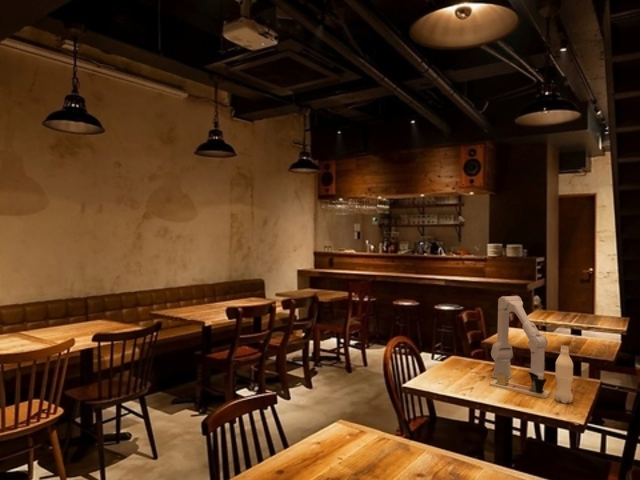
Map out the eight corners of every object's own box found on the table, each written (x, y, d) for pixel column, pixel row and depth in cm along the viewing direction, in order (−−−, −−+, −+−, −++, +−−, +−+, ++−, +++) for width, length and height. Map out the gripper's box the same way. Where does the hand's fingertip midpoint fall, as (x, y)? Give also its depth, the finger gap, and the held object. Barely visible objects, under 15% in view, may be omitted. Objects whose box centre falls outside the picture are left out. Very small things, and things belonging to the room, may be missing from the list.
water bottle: (572, 400, 208) (573, 345, 208) (573, 405, 202) (574, 348, 201) (554, 397, 211) (555, 343, 211) (555, 402, 205) (556, 347, 204)
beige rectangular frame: (494, 381, 233) (494, 379, 233) (550, 393, 216) (550, 391, 216) (489, 385, 227) (489, 383, 227) (546, 398, 210) (546, 395, 210)
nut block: (533, 391, 219) (533, 379, 219) (542, 393, 217) (542, 380, 217) (531, 393, 216) (531, 381, 216) (540, 395, 214) (540, 382, 214)
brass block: (499, 384, 230) (499, 372, 229) (507, 386, 227) (508, 374, 227) (496, 386, 226) (497, 374, 226) (505, 388, 224) (505, 375, 224)
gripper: (525, 356, 224) (524, 384, 224) (531, 364, 210) (531, 394, 210) (540, 357, 223) (540, 385, 223) (548, 366, 208) (547, 395, 209)
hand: (537, 390), depth 216 cm, fingers open, 7 cm apart
